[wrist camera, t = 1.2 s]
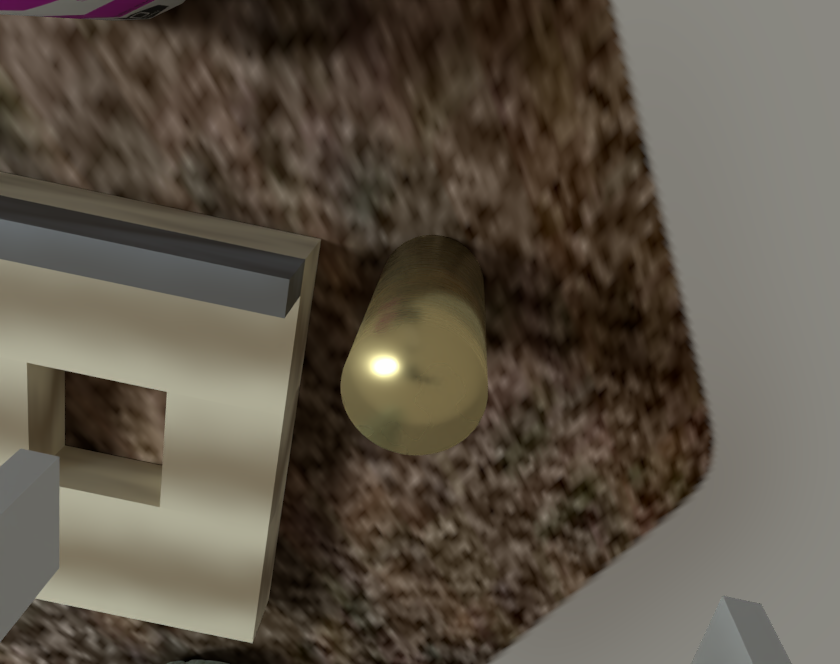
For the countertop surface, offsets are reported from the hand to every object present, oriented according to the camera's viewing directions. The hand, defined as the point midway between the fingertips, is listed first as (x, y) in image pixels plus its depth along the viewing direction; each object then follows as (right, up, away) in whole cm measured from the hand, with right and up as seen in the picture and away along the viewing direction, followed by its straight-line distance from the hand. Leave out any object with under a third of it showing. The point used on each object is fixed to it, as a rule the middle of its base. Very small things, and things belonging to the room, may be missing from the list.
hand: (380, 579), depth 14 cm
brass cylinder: (+1, +7, +16) cm, 18 cm away
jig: (-13, +1, +20) cm, 24 cm away
